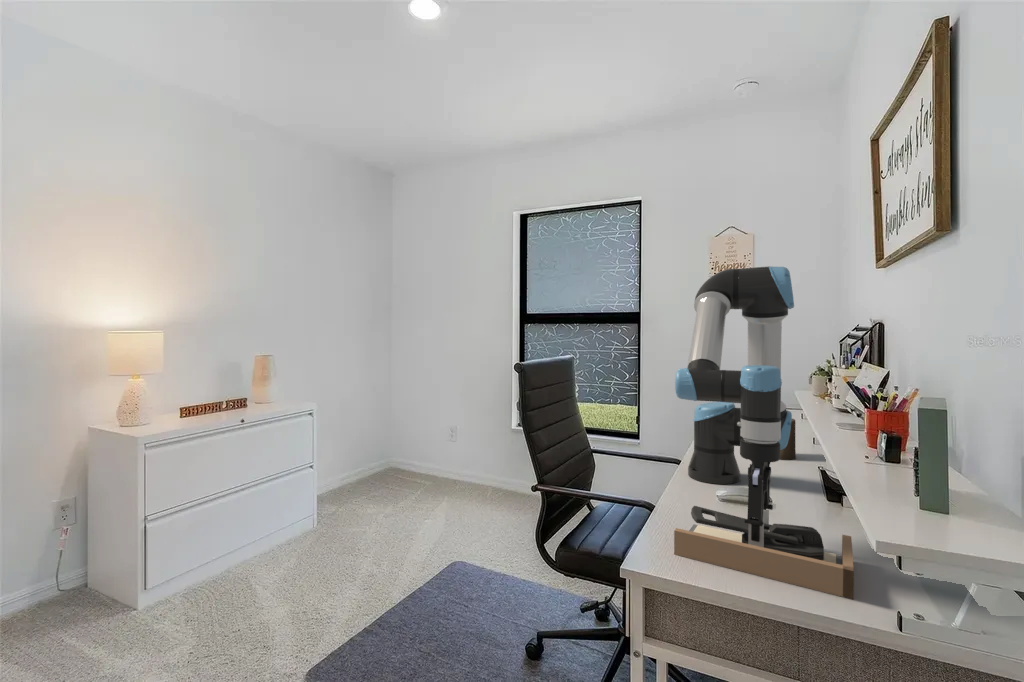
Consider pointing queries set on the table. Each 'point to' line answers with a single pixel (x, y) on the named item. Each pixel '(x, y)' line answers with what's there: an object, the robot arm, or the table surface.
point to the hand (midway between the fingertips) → (758, 546)
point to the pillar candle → (789, 445)
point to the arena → (769, 560)
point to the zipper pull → (769, 533)
